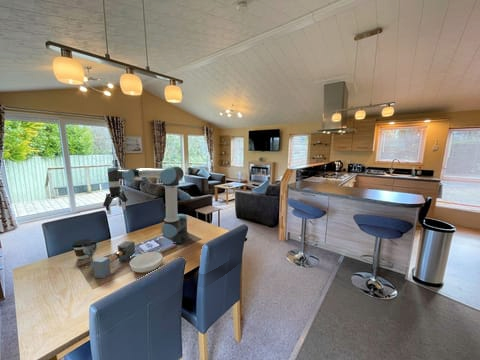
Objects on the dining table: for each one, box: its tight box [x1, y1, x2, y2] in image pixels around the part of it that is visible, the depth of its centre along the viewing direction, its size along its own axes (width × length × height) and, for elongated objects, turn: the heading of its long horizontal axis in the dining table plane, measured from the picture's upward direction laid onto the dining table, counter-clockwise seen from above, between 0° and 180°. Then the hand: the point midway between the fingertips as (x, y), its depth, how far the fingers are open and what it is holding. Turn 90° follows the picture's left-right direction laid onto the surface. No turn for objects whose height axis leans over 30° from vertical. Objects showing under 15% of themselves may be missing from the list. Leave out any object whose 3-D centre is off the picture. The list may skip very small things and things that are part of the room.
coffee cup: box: [71, 238, 92, 260], centre depth 139 cm, size 11×11×12 cm
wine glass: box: [82, 240, 98, 268], centre depth 131 cm, size 8×8×15 cm
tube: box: [108, 248, 125, 264], centre depth 134 cm, size 19×4×4 cm, turn 169°
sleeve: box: [117, 240, 136, 262], centre depth 140 cm, size 8×7×11 cm
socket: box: [92, 256, 111, 279], centre depth 120 cm, size 5×7×11 cm
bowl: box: [129, 251, 163, 274], centre depth 128 cm, size 20×20×6 cm
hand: (116, 211), depth 159 cm, fingers open, 13 cm apart
